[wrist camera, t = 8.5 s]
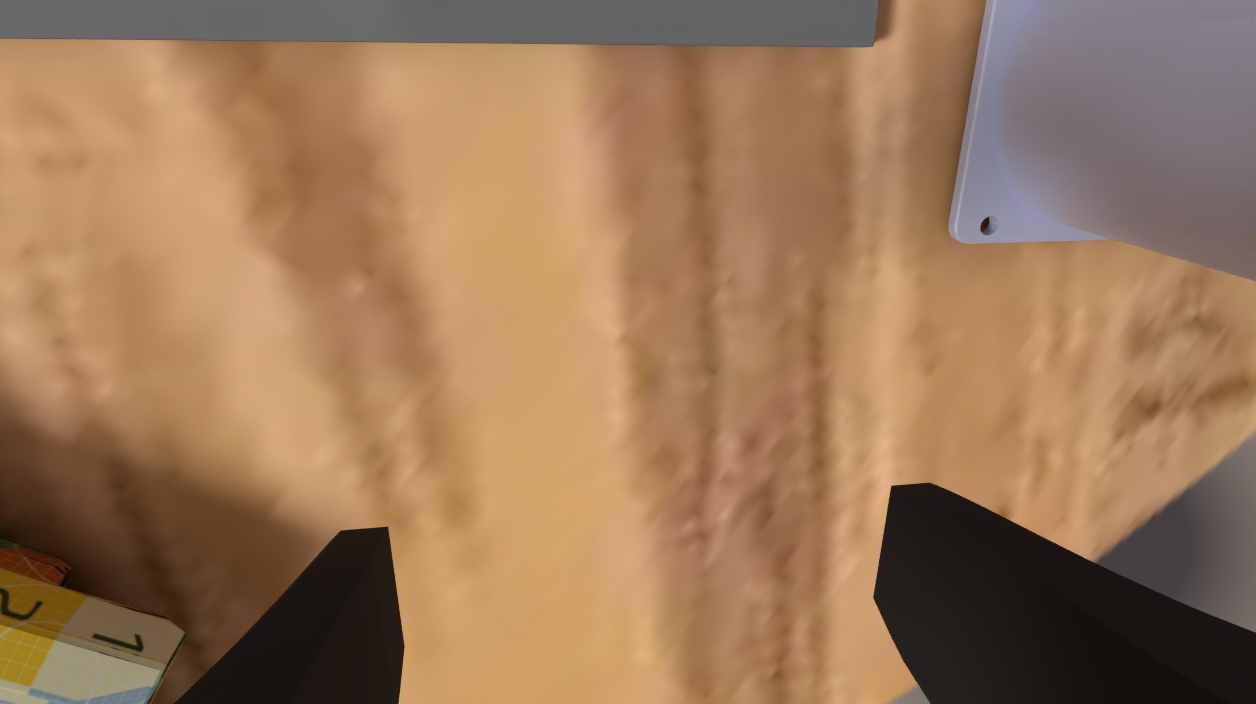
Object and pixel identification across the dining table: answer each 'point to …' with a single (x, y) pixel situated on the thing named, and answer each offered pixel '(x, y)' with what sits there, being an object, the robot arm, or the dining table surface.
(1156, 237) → the robot arm
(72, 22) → the mat
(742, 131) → the dining table surface
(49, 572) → the puzzle game
